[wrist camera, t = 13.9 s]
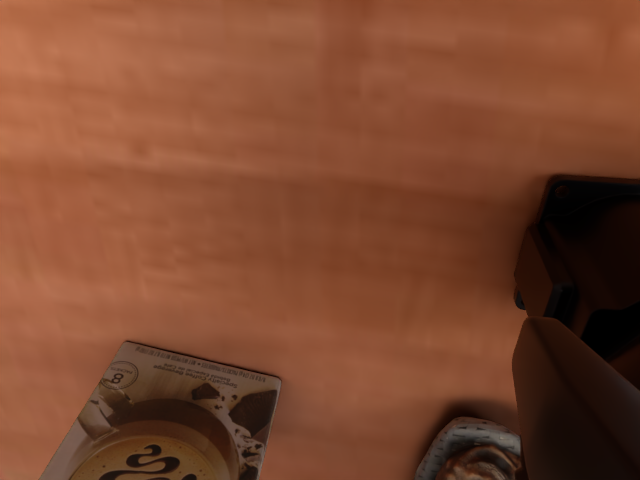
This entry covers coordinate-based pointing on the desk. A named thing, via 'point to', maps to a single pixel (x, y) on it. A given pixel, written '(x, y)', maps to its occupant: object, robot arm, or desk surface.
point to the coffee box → (169, 421)
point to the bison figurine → (471, 452)
